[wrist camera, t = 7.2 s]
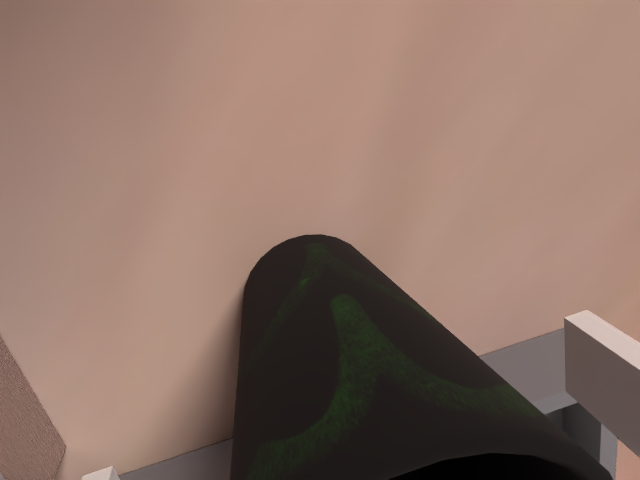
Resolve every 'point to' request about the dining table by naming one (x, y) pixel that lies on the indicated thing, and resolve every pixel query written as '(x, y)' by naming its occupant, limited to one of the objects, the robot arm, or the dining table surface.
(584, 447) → the grey divided tray
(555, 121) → the dining table surface
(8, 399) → the grey square socket block
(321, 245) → the cup
